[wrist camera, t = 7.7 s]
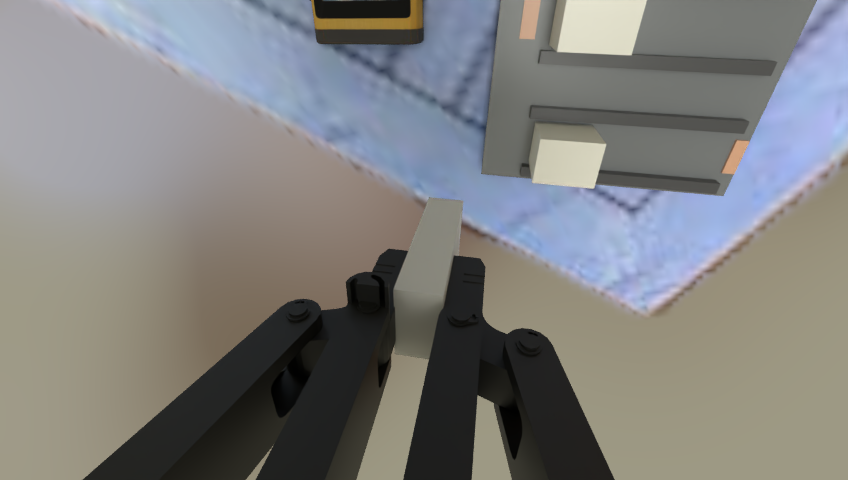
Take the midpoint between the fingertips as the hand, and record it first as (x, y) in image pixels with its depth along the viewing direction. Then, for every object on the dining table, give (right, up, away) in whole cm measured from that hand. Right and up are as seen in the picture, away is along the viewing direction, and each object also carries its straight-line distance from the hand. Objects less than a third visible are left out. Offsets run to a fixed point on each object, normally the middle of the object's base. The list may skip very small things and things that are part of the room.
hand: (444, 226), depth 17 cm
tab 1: (+9, +13, +7) cm, 18 cm away
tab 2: (+9, +7, +11) cm, 16 cm away
